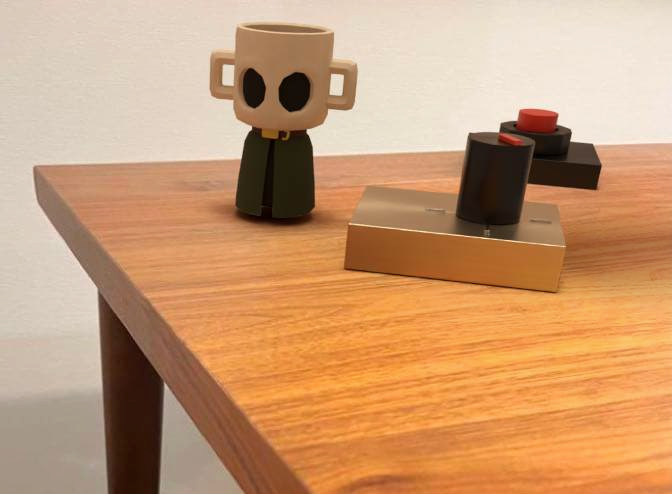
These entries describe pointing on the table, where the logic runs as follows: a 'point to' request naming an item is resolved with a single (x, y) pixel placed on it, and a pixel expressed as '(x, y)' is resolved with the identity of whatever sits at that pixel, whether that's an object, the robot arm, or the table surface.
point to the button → (537, 120)
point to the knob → (494, 177)
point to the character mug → (280, 109)
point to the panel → (453, 241)
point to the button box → (559, 158)
